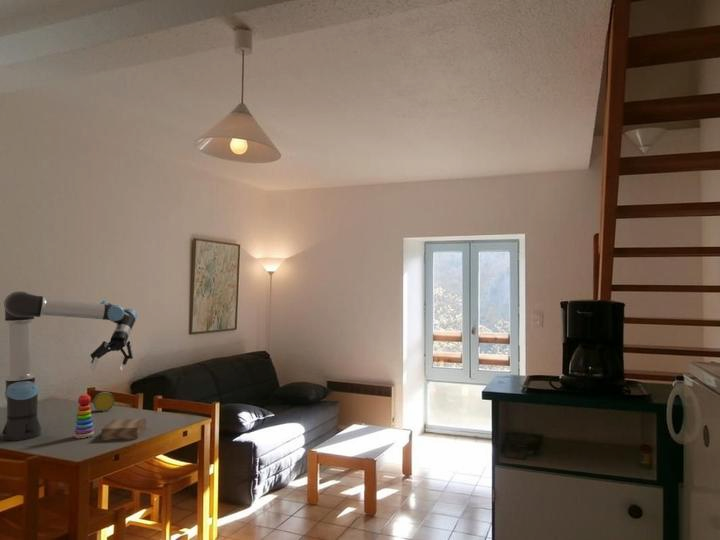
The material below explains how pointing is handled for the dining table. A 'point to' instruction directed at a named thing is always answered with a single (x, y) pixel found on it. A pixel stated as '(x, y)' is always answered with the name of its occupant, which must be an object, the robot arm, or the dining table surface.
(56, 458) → the dining table surface
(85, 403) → the stacking toy
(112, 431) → the walnut block
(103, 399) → the decorative artifact
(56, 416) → the dining table surface
